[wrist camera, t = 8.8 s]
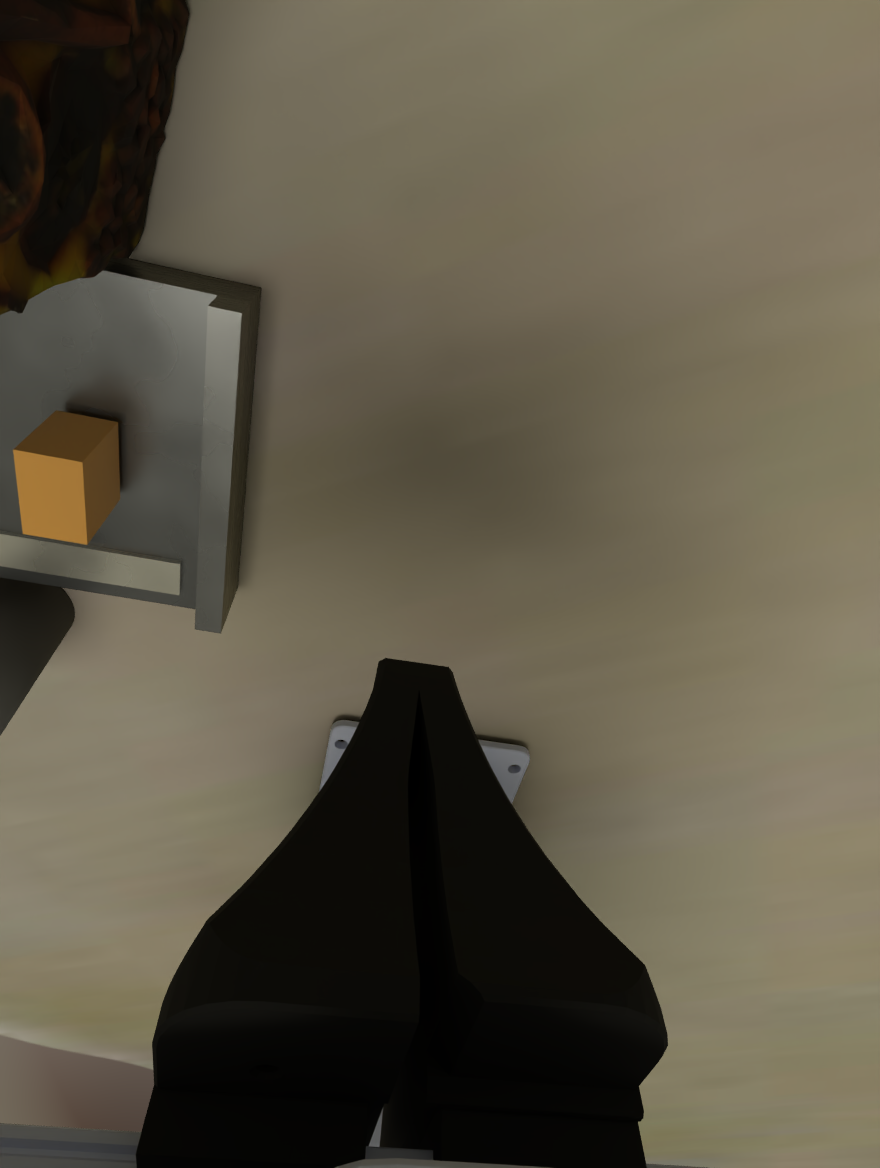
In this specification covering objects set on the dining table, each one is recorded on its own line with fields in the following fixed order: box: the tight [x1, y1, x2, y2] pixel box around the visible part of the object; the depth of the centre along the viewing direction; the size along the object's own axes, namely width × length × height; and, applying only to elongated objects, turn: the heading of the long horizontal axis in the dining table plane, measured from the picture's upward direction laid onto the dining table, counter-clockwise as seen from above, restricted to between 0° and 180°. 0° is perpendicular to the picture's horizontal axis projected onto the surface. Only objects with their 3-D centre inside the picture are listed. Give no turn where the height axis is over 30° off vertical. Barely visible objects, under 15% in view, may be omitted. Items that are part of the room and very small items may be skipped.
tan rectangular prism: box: [13, 410, 120, 545], centre depth 20 cm, size 2×2×2 cm
